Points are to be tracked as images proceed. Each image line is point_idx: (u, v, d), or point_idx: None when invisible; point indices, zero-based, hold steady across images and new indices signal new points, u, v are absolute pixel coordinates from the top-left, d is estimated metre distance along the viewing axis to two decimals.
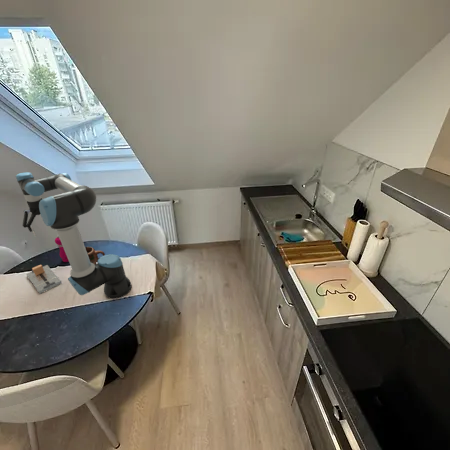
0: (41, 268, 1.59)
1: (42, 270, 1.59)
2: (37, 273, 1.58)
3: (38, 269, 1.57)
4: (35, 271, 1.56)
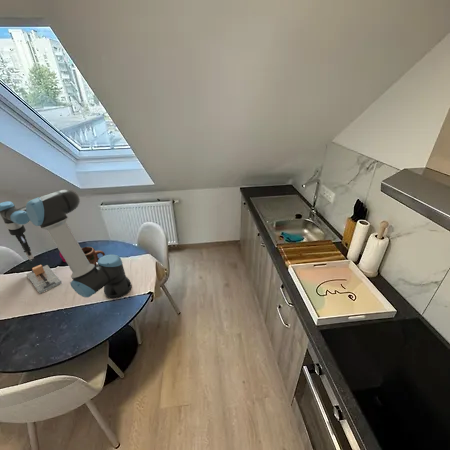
0: (41, 268, 1.59)
1: (42, 270, 1.59)
2: (37, 273, 1.58)
3: (38, 269, 1.57)
4: (35, 271, 1.56)
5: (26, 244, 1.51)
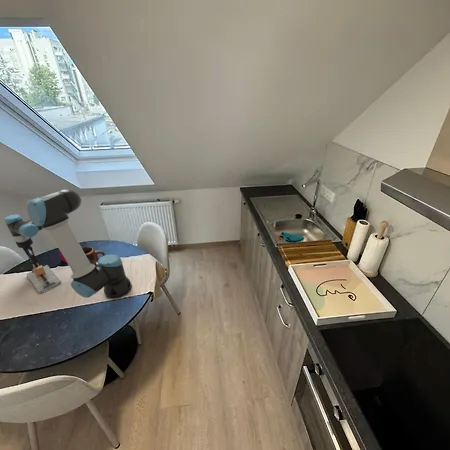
0: (42, 269, 1.58)
1: (43, 271, 1.59)
2: (38, 274, 1.57)
3: (39, 270, 1.57)
4: (35, 272, 1.55)
5: (33, 256, 1.51)
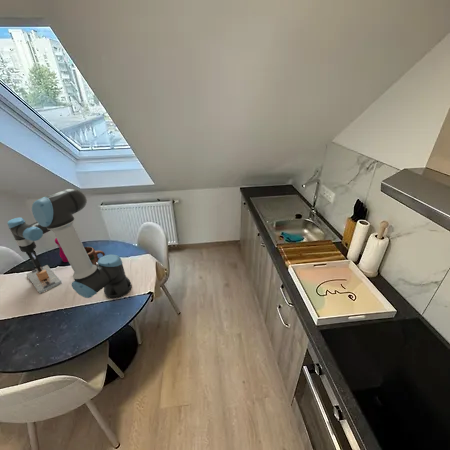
0: (45, 273, 1.54)
1: (46, 275, 1.55)
2: (41, 278, 1.53)
3: (42, 274, 1.53)
4: (39, 276, 1.52)
5: (37, 260, 1.48)
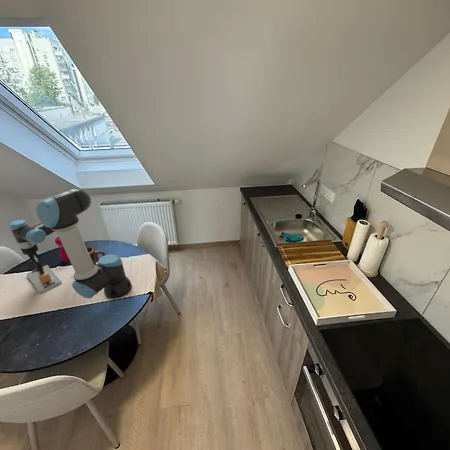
0: (47, 276, 1.52)
1: (48, 278, 1.53)
2: (43, 281, 1.51)
3: (44, 277, 1.51)
4: (41, 279, 1.49)
5: (39, 263, 1.45)
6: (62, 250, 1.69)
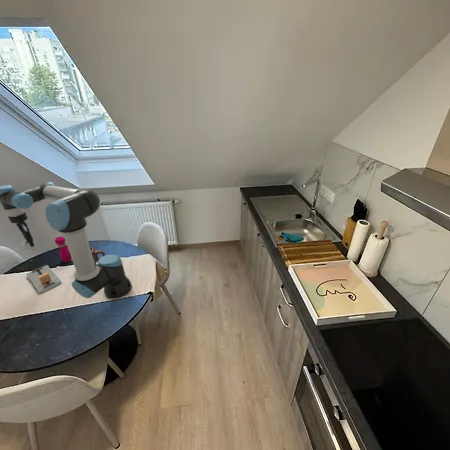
0: (47, 276, 1.52)
1: (48, 278, 1.53)
2: (43, 281, 1.51)
3: (44, 277, 1.51)
4: (41, 279, 1.49)
5: (28, 233, 1.36)
6: (62, 250, 1.69)
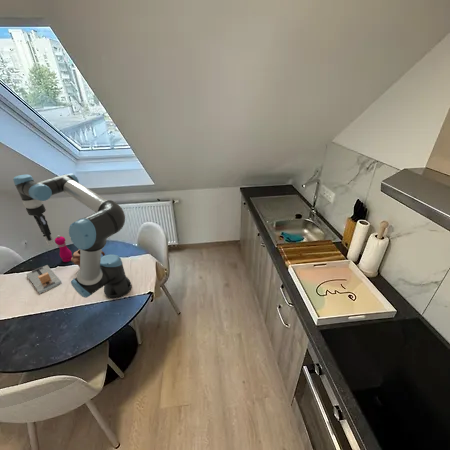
0: (47, 276, 1.52)
1: (48, 278, 1.53)
2: (43, 281, 1.51)
3: (44, 277, 1.51)
4: (41, 279, 1.49)
5: (46, 226, 1.28)
6: (62, 250, 1.69)
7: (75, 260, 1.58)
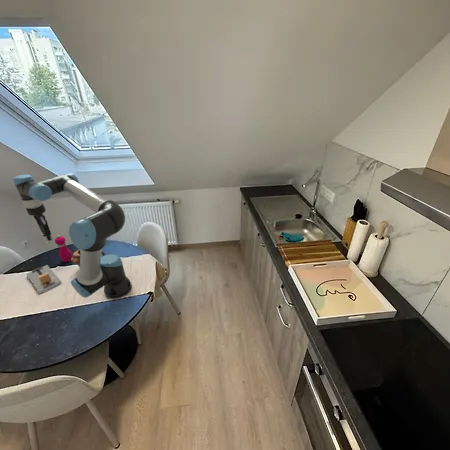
0: (47, 276, 1.52)
1: (48, 278, 1.53)
2: (43, 281, 1.51)
3: (44, 277, 1.51)
4: (41, 279, 1.49)
5: (46, 226, 1.28)
6: (62, 250, 1.69)
7: (75, 260, 1.58)
